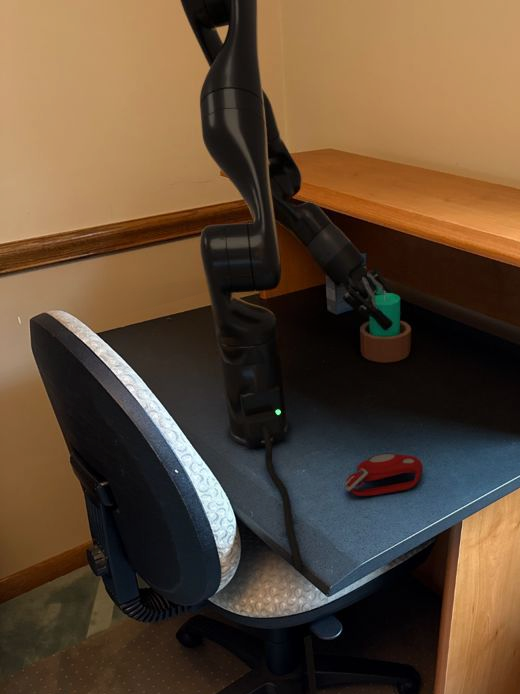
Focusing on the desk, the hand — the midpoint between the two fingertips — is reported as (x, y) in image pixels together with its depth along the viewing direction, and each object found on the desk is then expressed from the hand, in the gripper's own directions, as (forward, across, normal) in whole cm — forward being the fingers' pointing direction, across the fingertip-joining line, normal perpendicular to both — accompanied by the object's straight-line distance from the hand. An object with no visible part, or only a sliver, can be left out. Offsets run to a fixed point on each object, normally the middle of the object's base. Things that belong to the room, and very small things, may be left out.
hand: (393, 321), depth 131 cm
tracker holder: (+13, -43, -4) cm, 45 cm away
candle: (+3, 0, +6) cm, 6 cm away
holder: (+3, 0, +6) cm, 7 cm away
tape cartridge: (-8, +19, +18) cm, 27 cm away
